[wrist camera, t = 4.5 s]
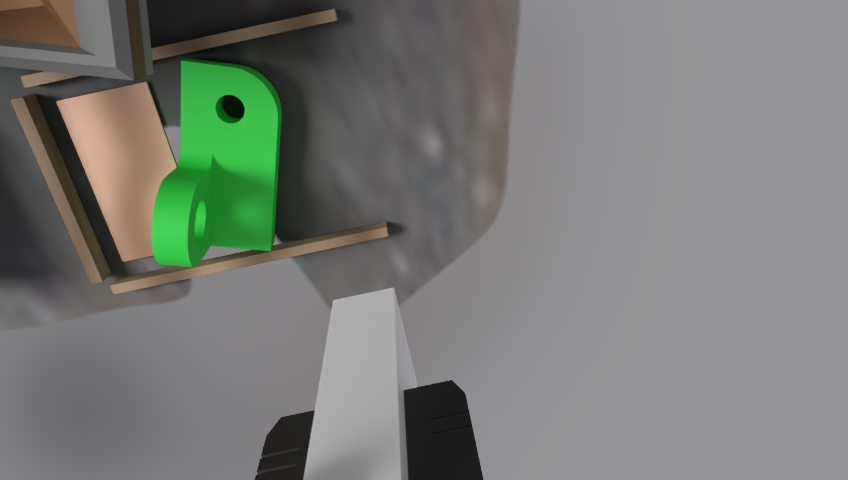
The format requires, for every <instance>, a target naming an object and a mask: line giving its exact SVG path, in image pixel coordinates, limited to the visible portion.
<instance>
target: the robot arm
mask: <svg viewBox="0 0 848 480" xmlns="http://www.w3.org/2000/svg"><path fill="white" fill-rule="evenodd" d="M261 456H262V459H260V462H259V466H258V470H257V473H258V475H256V477H255V480H483V476H482V471H481V466H480V461H479V457H478V452H477V447H476V442H475V438H474V433H473V428H472V423H471V419H470V415H469V410H468V405H467V400H466V395H465V393H464V392H463V391H462V390H461V389H460V388H459V387H458V386H457V385H456V384H455V383H454V382H453V381H452V380H450V381H445V382H441V383H436V384H431V385H426V386H421V387H417V382H416V377H415V373H414V369H413V365H412V361H411V356H410V352H409V348H408V344H407V340H406V337H405V332H404V328H403V323H402V320H401V315H400V311H399V307H398V303H397V299H396V295H395V290H394V288H389V289H385V290H380V291H375V292H370V293H366V294H361V295H356V296H351V297H346V298H342V299H337V300H333V305H332V311H331V317H330V323H329V329H328V335H327V341H326V347H325V353H324V359H323V365H322V371H321V377H320V383H319V389H318V395H317V400H316V406H315V410H314V411H309V412H305V413H300V414H295V415H290V416H285V417H281V418H280V419H279V421H278V422H277V423H276V425H275V426H274V427H273V429H272V430H271V431H270V432H269V434H268V435H267V436H266V440H265V444H264V447H263V451H262V455H261Z"/></svg>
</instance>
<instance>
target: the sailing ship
mask: <svg viewBox="0 0 848 480" xmlns="http://www.w3.org/2000/svg"><path fill="white" fill-rule="evenodd" d="M0 66H1V67H10V68H20V69H29V70H39V71H48V72H58V73H67V74H77V75H86V76H96V77H105V78H115V79H124V80H138V79H141V78H144V77H147V76H150V75H153V74H154V71H153V61H152V51H151V41H150V32H149V22H148V12H147V2H146V0H0Z"/></svg>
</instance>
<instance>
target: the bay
mask: <svg viewBox="0 0 848 480" xmlns="http://www.w3.org/2000/svg"><path fill="white" fill-rule="evenodd" d="M337 20H338V17H337V13H336V9H331V10H326V11H322V12H317V13H312V14H308V15H303V16H298V17H294V18H289V19H285V20H280V21H275V22H271V23H266V24H261V25H257V26H252V27H247V28H243V29H238V30H234V31H229V32H224V33H220V34H215V35H210V36H206V37H201V38H197V39H192V40H187V41H183V42H178V43H173V44H169V45H164V46H160V47H155V48H151V51H152V60H157V59H161V58H166V57H170V56H175V55H180V54H184V53H189V52H194V51H198V50H203V49H207V48H212V47H217V46H221V45H226V44H231V43H235V42H240V41H245V40H249V39H254V38H258V37H263V36H268V35H272V34H277V33H282V32H286V31H291V30H295V29H300V28H305V27H309V26H314V25H319V24H323V23H328V22H333V21H337ZM78 76H82V75H77V74H67V73H58V72H48V71H44V72H39V73H35V74H30V75H25V76H21V77H20V78H21V80H22V82H23V85H24V87H25V88H27V87H31V86H36V85H41V84H45V83H50V82H55V81H59V80H64V79H69V78H73V77H78ZM10 101H11V103H12V105H13V107H14V110H15V112H16V114H17V116H18V119H19V121H20V123H21V126H22V128H23V130H24V132H25V135H26V137H27V139H28V141H29V144H30V146H31V148H32V150H33V153H34V155H35V157H36V159H37V162H38V164H39V166H40V169H41V171H42V173H43V175H44V178H45V180H46V182H47V184H48V187H49V189H50V191H51V193H52V196H53V198H54V200H55V202H56V205H57V207H58V209H59V212H60V214H61V216H62V218H63V221H64V223H65V225H66V227H67V230H68V232H69V234H70V236H71V239H72V241H73V243H74V245H75V248H76V250H77V252H78V255H79V257H80V259H81V261H82V264H83V266H84V268H85V270H86V273H87V275H88V277H89V279H90V282H91V284H95V283H99V282H103V281H104V280H105V279H106V278H107V277H108V276H109V275H110V274H111V271H110V269H109V266H108V264H107V262H106V259H105V257H104V255H103V252H102V250H101V248H100V245H99V243H98V241H97V238H96V236H95V233H94V231H93V229H92V226H91V224H90V222H89V219H88V217H87V215H86V212H85V210H84V208H83V205H82V203H81V201H80V198H79V196H78V194H77V191H76V189H75V186H74V184H73V182H72V179H71V177H70V175H69V172H68V170H67V168H66V165H65V163H64V161H63V158H62V156H61V154H60V151H59V149H58V147H57V144H56V142H55V139H54V137H53V135H52V132H51V130H50V128H49V125H48V123H47V121H46V118H45V116H44V114H43V111H42V109H41V107H40V104H39V102H38V100H37V97H36V95H35V94H32V95H28V96H23V97H19V98H15V99H12V100H10ZM56 102H57V105H58V107H59V110H60V112H61V114H62V117H63V119H64V122H65V124H66V126H67V129H68V131H69V134H70V136H71V138H72V141H73V143H74V146H75V148H76V150H77V153H78V155H79V158H80V160H81V162H82V165H83V167H84V170H85V172H86V175H87V177H88V179H89V182H90V184H91V187H92V189H93V191H94V194H95V196H96V199H97V201H98V203H99V206H100V208H101V211H102V213H103V215H104V218H105V220H106V223H107V225H108V228H109V230H110V232H111V235H112V237H113V240H114V242H115V244H116V247H117V249H118V252H119V254H120V256H121V259H122V261H123V262H125V261H130V260H135V259H139V258H144V257H149V256H154V254H153V249H152V240H151V228H152V216H153V209H154V204H155V199H156V195H157V192H158V189H159V187H160V184H161V182H162V181H163V179H164V178H165V177H166V176H167V175H168V174H169V173H170V172H172V171H173V170H174V169H175V168H176V167H177V163H176V160H175V158H174V155H173V152H172V149H171V146H170V144H169V141H168V138H167V135H166V132H165V130H164V127H163V124H162V121H161V118H160V116H159V113H158V110H157V107H156V104H155V102H154V99H153V96H152V93H151V90H150V88H149V85H148V82H142V83H138V84H133V85H128V86H124V87H119V88H114V89H110V90H105V91H100V92H96V93H91V94H87V95H82V96H77V97H73V98H68V99H63V100H59V101H56ZM387 236H388V227H387V223H386V222H382V223H377V224H372V225H368V226H363V227H358V228H353V229H349V230H344V231H339V232H335V233H330V234H325V235H320V236H316V237H311V238H306V239H302V240H297V241H292V242H287V243H283V244H278V245H273V246H272V248H271V251H263V250H250V251H245V252H240V253H235V254H231V255H226V256H221V257H216V258H212V259H207V260H202V261H200V263H199V264H198V266H197V267H184V266H174V267H169V268H165V269H160V270H155V271H150V272H146V273H141V274H136V275H131V276H127V277H122V278H117V279H116V280H115V281H114V282H113V283H112V284H111V285H110V287H111V289H112V292H113V294H118V293H123V292H127V291H132V290H137V289H141V288H146V287H151V286H156V285H160V284H165V283H170V282H175V281H179V280H184V279H189V278H193V277H198V276H203V275H208V274H212V273H217V272H222V271H227V270H231V269H236V268H241V267H245V266H250V265H255V264H259V263H264V262H269V261H274V260H278V259H283V258H288V257H293V256H298V255H302V254H307V253H312V252H316V251H321V250H326V249H331V248H335V247H340V246H345V245H350V244H354V243H359V242H364V241H368V240H373V239H378V238H383V237H387Z"/></svg>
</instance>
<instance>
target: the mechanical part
mask: <svg viewBox="0 0 848 480" xmlns="http://www.w3.org/2000/svg"><path fill="white" fill-rule="evenodd" d="M225 95H233V96H236V97H237V98H239V99H240V100H241V101H242V103H243V105H244V109H245V112H244V116H243V117H242V118H233V117H231V116H229V115H228V114H226V112H225V111H224V109H223V106H222V100H223V98H224V96H225ZM281 121H282V108H281V103H280V99H279V96H278V94H277V92H276V90H275V88H274V87H273V85H272V84H271V83H270V82H269V80H267V79H266V78H265V77H264V76H263V75H262V74H261V73H259V72H258V71H256V70H254V69H252V68H250V67H247V66H243V65H239V64H232V63H224V62H216V61H209V60H201V59H193V58H188V59H185V60H181V150H180V158H179V162H178V165H177V167H176V168H175V169H174V170H173V171H172V172H170V173H169V174H168V175H167V176H166V177H165V178H164V179H163V181H162V182H161V184H160V187H159V189H158V192H157V195H156V199H155V204H154V209H153V216H152V228H151V240H152V249H153V254H154V257H155V260H156V262H157V263H158V264H162V265H173V266H184V267H197V266H198V264H199V263H200V261H201V260H202V258H203V257H204V255H205V254H206V252H207V250H208V249H209V247H210V246H220V247H231V248H241V249H252V250H263V251H271V248H272V246H273V243H274V238H275V221H276V205H277V188H278V171H279V155H280V138H281Z"/></svg>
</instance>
